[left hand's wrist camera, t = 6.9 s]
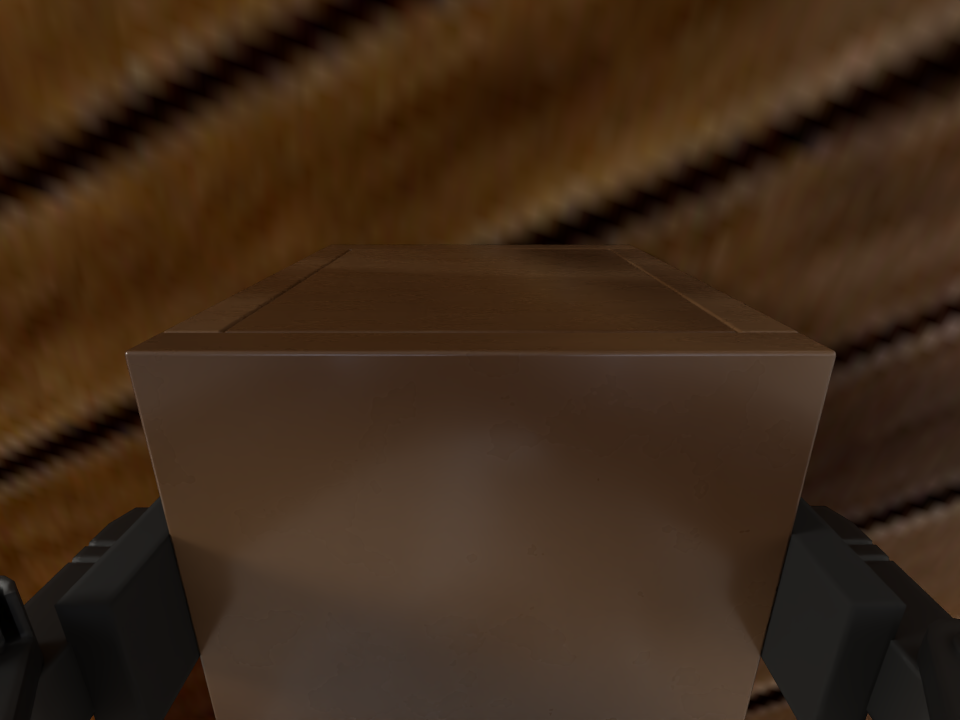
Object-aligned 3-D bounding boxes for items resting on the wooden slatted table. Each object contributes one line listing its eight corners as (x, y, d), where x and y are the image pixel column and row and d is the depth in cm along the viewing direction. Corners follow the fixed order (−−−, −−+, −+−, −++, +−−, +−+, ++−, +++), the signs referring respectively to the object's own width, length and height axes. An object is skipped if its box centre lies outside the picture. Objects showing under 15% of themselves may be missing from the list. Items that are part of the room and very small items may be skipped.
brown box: (591, 643, 24) (675, 1000, 14) (368, 643, 24) (284, 1000, 14) (631, 244, 18) (840, 351, 7) (329, 244, 18) (120, 350, 7)
